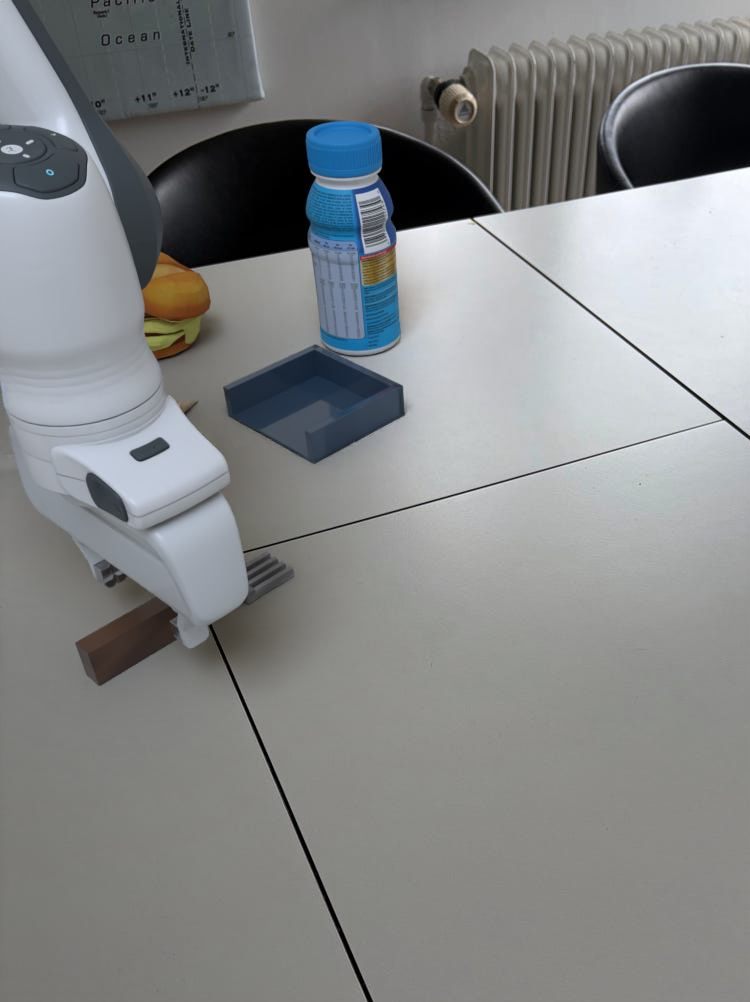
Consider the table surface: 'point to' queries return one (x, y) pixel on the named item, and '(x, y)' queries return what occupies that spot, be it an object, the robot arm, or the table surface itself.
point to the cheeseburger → (173, 307)
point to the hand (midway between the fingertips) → (151, 608)
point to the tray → (314, 402)
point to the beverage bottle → (352, 239)
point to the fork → (159, 625)
